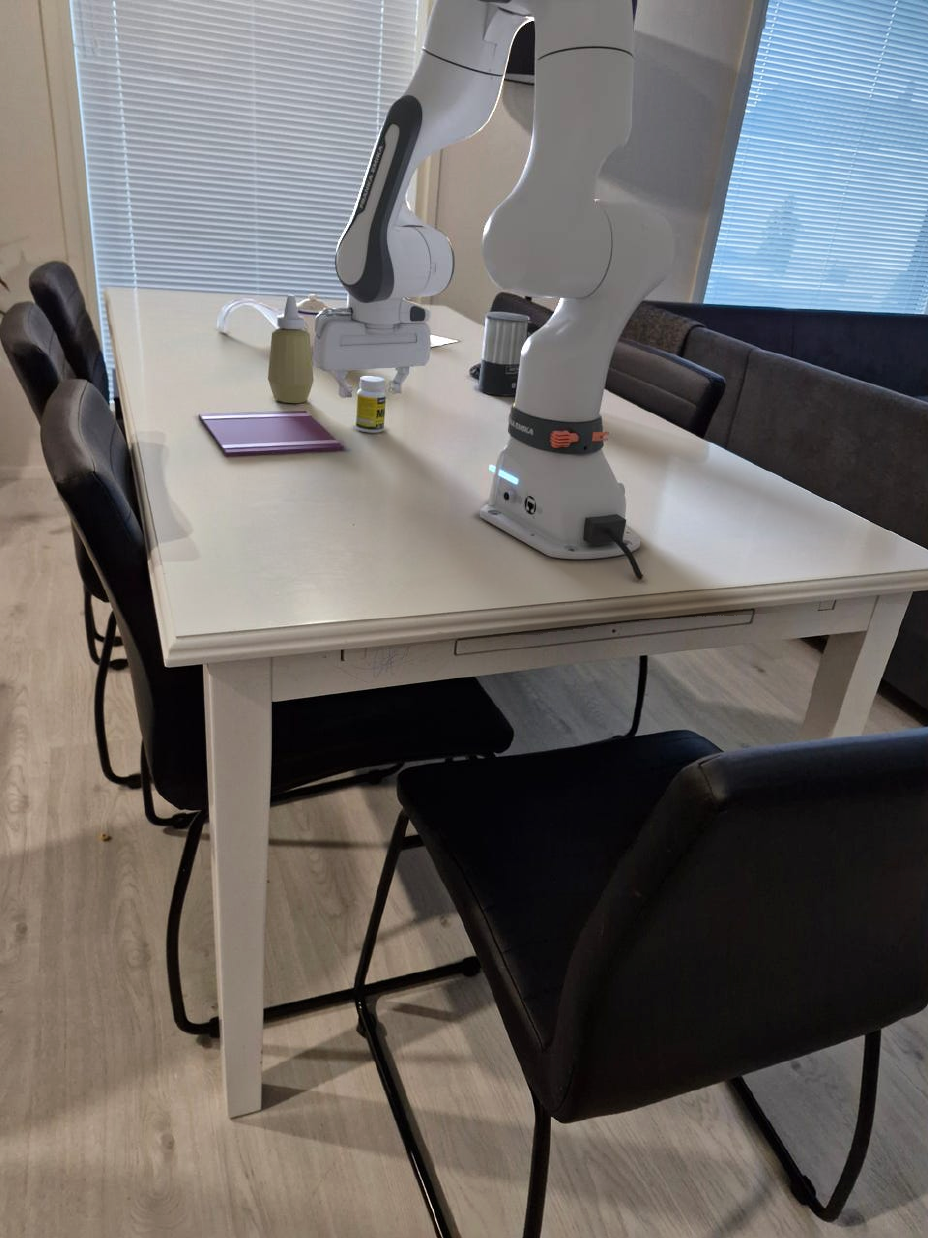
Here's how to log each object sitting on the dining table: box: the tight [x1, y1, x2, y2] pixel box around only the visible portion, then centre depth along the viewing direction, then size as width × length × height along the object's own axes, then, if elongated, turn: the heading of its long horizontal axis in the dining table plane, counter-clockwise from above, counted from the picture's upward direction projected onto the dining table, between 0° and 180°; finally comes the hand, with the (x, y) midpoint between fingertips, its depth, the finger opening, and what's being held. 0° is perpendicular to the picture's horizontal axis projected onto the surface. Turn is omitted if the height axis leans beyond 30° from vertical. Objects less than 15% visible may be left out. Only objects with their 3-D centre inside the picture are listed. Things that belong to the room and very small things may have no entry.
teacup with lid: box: [296, 293, 333, 354], centre depth 192 cm, size 12×9×12 cm
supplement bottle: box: [355, 375, 387, 434], centre depth 144 cm, size 5×5×8 cm
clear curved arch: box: [216, 298, 285, 332], centre depth 207 cm, size 24×12×7 cm, turn 122°
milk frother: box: [468, 311, 541, 397], centre depth 179 cm, size 14×16×15 cm
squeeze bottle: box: [267, 293, 314, 404], centre depth 153 cm, size 8×8×18 cm
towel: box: [198, 410, 345, 457], centre depth 139 cm, size 20×18×1 cm
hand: (370, 394), depth 144 cm, fingers open, 8 cm apart
